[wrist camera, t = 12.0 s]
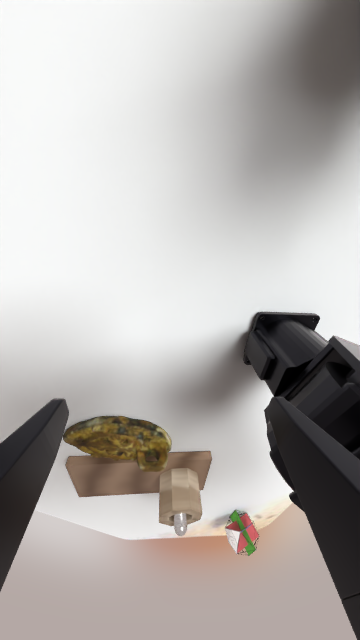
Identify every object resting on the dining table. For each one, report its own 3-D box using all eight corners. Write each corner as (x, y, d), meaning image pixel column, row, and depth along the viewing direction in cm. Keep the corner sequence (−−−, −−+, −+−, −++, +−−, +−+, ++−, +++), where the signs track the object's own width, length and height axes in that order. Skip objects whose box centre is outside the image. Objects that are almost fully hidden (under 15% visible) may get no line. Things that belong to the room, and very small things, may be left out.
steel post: (183, 474, 33) (188, 533, 27) (182, 479, 34) (186, 537, 28) (173, 475, 32) (175, 534, 27) (172, 480, 33) (174, 538, 27)
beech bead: (198, 467, 32) (203, 508, 27) (194, 484, 35) (198, 523, 30) (160, 469, 31) (159, 511, 27) (159, 486, 34) (158, 527, 30)
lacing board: (210, 451, 32) (211, 459, 31) (201, 482, 37) (202, 490, 36) (68, 456, 30) (65, 465, 29) (81, 488, 35) (79, 497, 34)
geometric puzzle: (267, 519, 44) (259, 565, 38) (255, 530, 47) (247, 573, 41) (237, 495, 47) (226, 534, 41) (228, 506, 50) (216, 544, 44)
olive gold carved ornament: (70, 441, 30) (165, 447, 33) (56, 479, 26) (165, 483, 29) (65, 409, 25) (179, 419, 27) (45, 450, 21) (180, 458, 24)
